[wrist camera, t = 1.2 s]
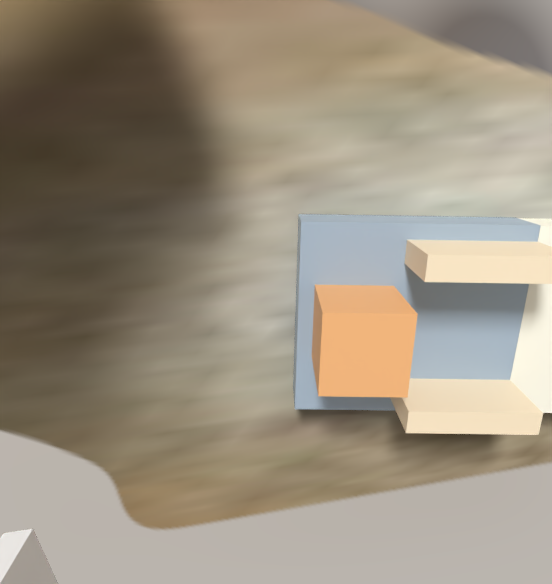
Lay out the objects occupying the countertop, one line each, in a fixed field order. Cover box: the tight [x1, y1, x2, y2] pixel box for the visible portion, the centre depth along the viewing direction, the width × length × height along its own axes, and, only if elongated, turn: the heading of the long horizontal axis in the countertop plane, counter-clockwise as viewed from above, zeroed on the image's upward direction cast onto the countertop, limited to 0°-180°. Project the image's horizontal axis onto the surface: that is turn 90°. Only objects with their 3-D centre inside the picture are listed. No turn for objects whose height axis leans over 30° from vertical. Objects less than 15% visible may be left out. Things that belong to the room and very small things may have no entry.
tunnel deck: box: [293, 214, 552, 435], centre depth 29 cm, size 28×13×7 cm, turn 89°
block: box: [312, 285, 418, 398], centre depth 27 cm, size 5×5×5 cm
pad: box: [510, 218, 552, 413], centre depth 31 cm, size 6×13×3 cm, turn 179°
